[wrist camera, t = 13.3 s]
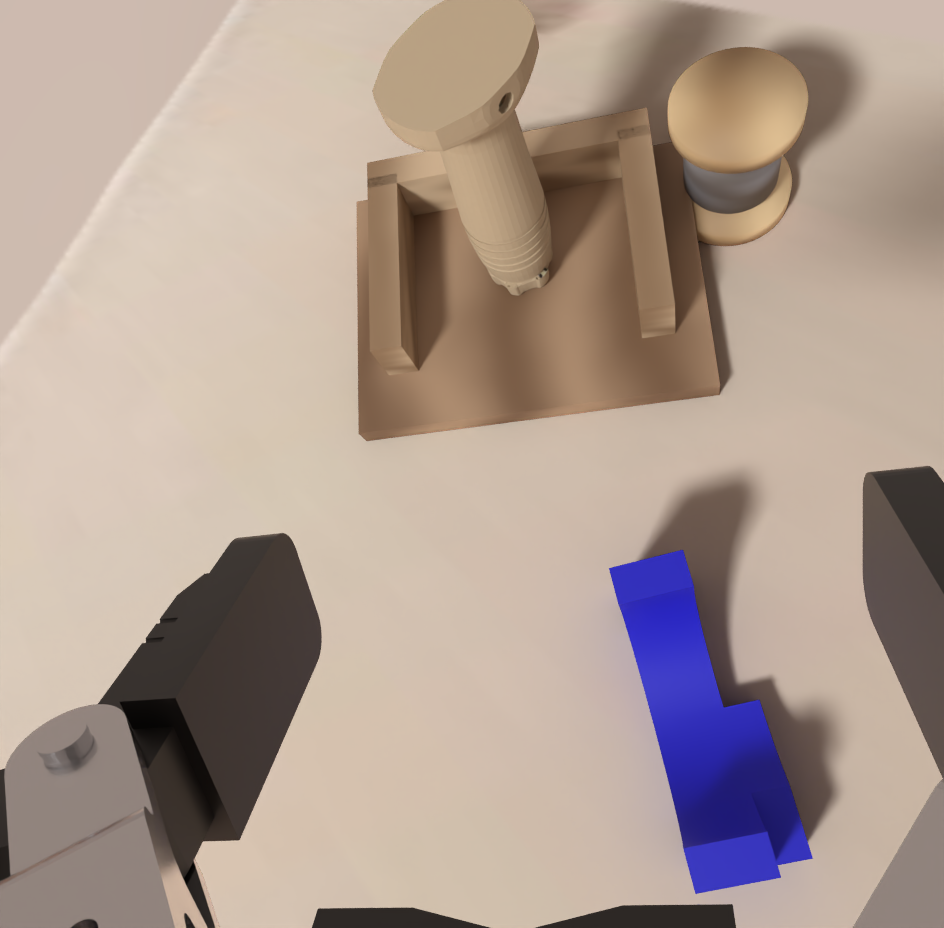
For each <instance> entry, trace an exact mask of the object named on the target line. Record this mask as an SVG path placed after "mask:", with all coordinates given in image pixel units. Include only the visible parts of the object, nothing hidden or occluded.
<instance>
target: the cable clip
mask: <svg viewBox="0 0 944 928" xmlns="http://www.w3.org/2000/svg"><path fill="white" fill-rule="evenodd" d="M609 570H610V574H611V578H612V581H613V585H614V589H615V593H616V596H617V600H618V604H619V607H620V609H621V612H622V615H623V618H624V621H625V624H626V628H627V631H628V634H629V638H630V641H631V644H632V648H633V651H634V655H635V658H636V662H637V665H638V669H639V672H640V676H641V679H642V683H643V687H644V690H645V694H646V698H647V701H648V705H649V709H650V712H651V716H652V720H653V723H654V727H655V731H656V735H657V739H658V742H659V746H660V750H661V754H662V758H663V762H664V765H665V769H666V773H667V777H668V781H669V785H670V789H671V793H672V797H673V801H674V806H675V810H676V814H677V818H678V823H679V827H680V832H681V836H682V841H683V848H684V852H685V856H686V860H687V863H688V867H689V871H690V875H691V879H692V882H693V886H694V890H695V894H697V893H702V892H708V891H713V890H718V889H723V888H729V887H734V886H739V885H744V884H750V883H755V882H760V881H765V880H771V879H776V878H781V876H780V872H779V869H778V866H777V865H781V864H786V863H791V862H797V861H802V860H807V859H812V855H811V852H810V848H809V845H808V842H807V839H806V836H805V832H804V829H803V826H802V823H801V820H800V816H799V813H798V810H797V807H796V804H795V800H794V797H793V794H792V791H791V788H790V785H789V782H788V780H787V777H786V775H785V772H784V770H783V767H782V764H781V762H780V759H779V756H778V754H777V751H776V748H775V745H774V742H773V740H772V737H771V734H770V731H769V728H768V725H767V722H766V719H765V716H764V713H763V710H762V706H761V703H760V700H756V701H751V702H747V703H742V704H738V705H733V706H729V707H723V704H722V700H721V697H720V694H719V690H718V687H717V683H716V680H715V676H714V672H713V669H712V665H711V662H710V658H709V654H708V650H707V647H706V643H705V639H704V635H703V631H702V627H701V623H700V618H699V614H698V610H697V605H696V600H695V594H694V585H693V582H692V578H691V575H690V572H689V568H688V565H687V562H686V558H685V555H684V552H683V550H680V551H676V552H672V553H668V554H664V555H660V556H656V557H652V558H648V559H644V560H640V561H636V562H632V563H628V564H624V565H620V566H616V567H612V568H609Z"/></svg>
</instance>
